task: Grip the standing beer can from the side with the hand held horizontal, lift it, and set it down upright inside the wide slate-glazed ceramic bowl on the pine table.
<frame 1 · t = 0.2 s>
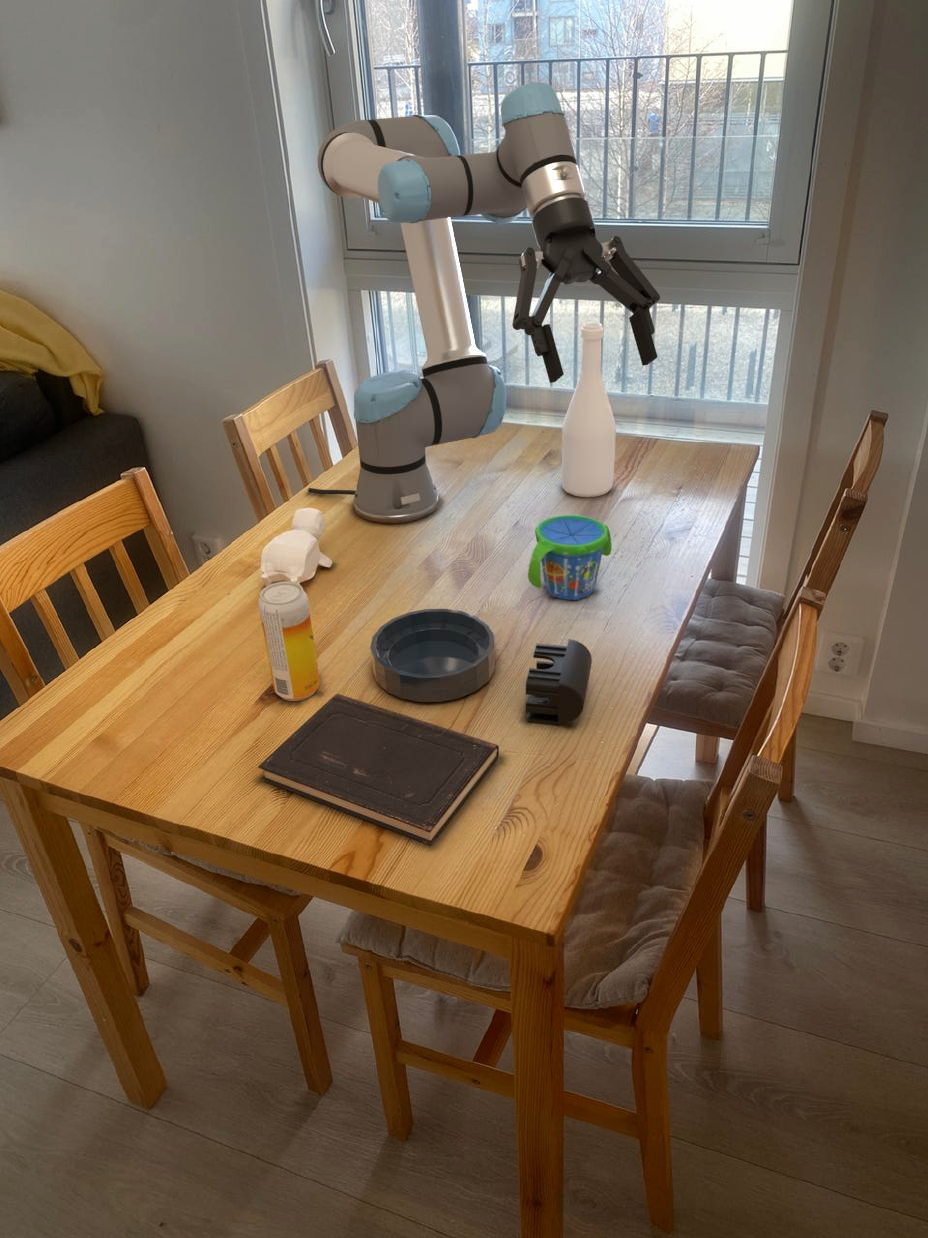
hand: (604, 370, 119), 36 cm above the table, tool tilted 35°, fingers open, 13 cm apart
bowl: (434, 668, 128), on the table
hardcover book: (381, 770, 111), on the table
beer can: (297, 690, 125), on the table
snack cup: (570, 590, 144), on the table
white animal figurine: (301, 572, 152), on the table
wine bottle: (587, 489, 175), on the table
end cap: (559, 704, 120), on the table
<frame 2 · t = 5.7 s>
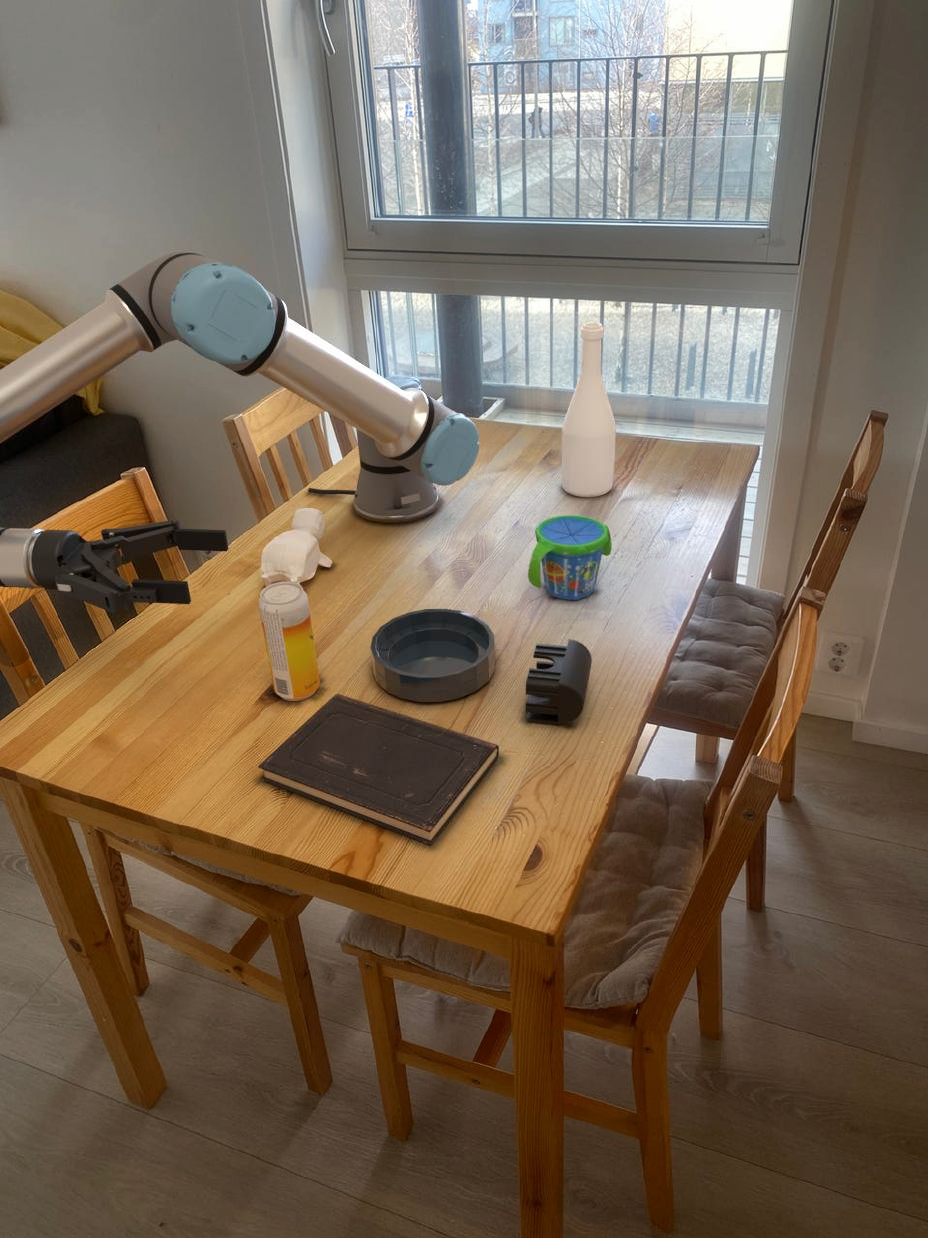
hand: (208, 565, 116), 18 cm above the table, tool horizontal, fingers open, 13 cm apart
nothing on the table moved.
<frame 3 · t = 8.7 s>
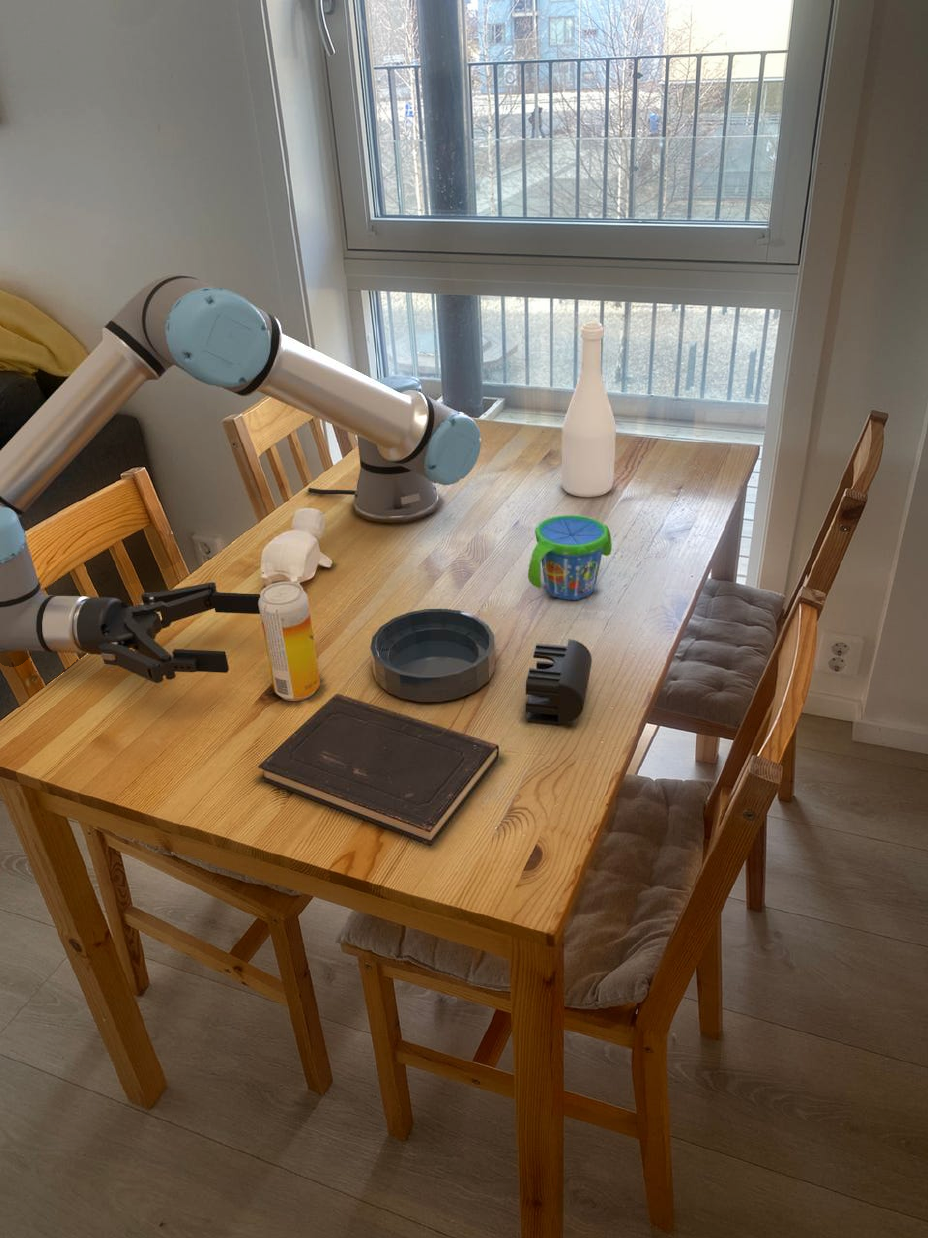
hand: (244, 631, 121), 9 cm above the table, tool horizontal, fingers open, 13 cm apart
nothing on the table moved.
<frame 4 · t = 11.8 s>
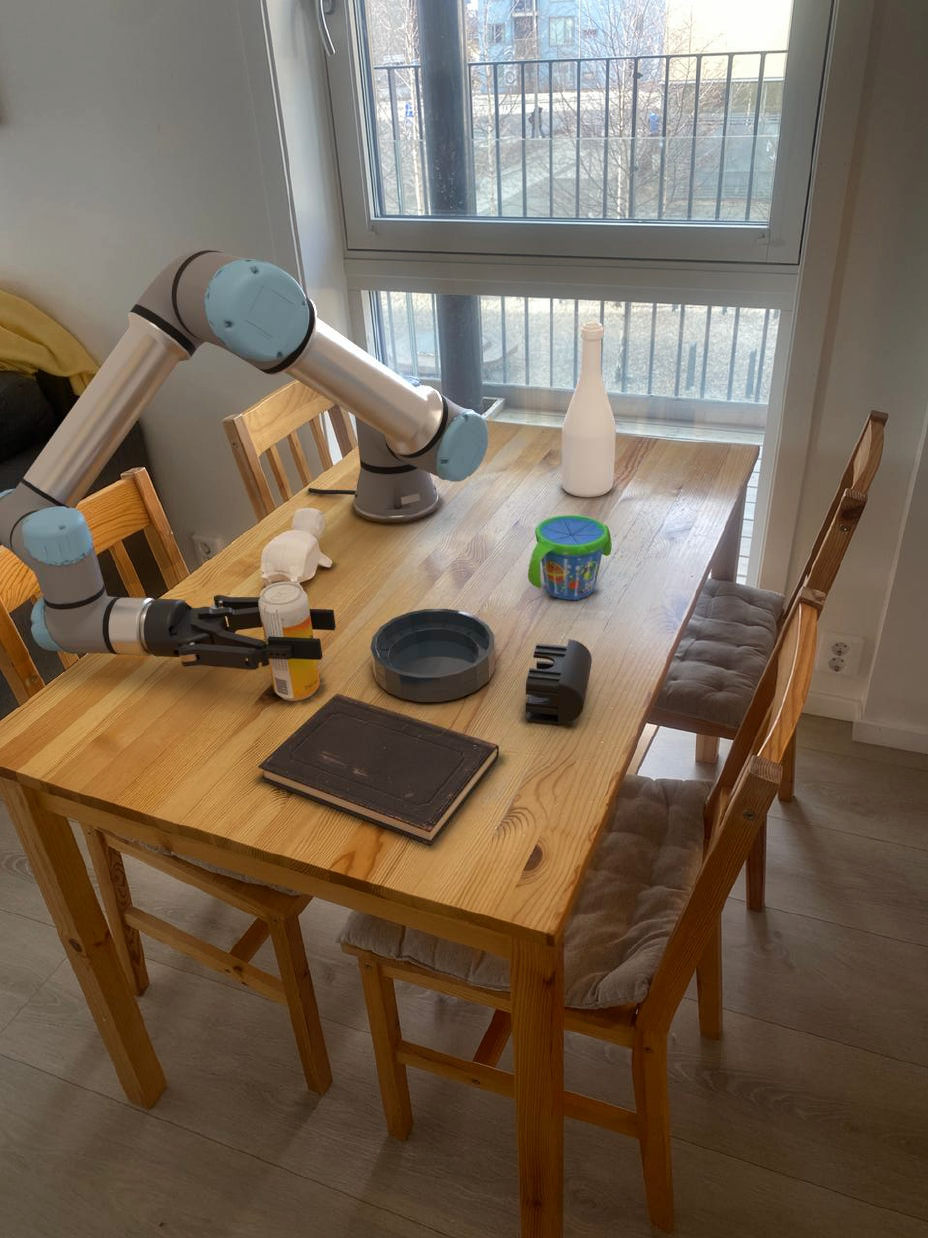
hand: (327, 634, 120), 9 cm above the table, tool horizontal, fingers closed on beer can, 6 cm apart
beer can: (297, 690, 125), on the table, touching gripper
everything else where it was.
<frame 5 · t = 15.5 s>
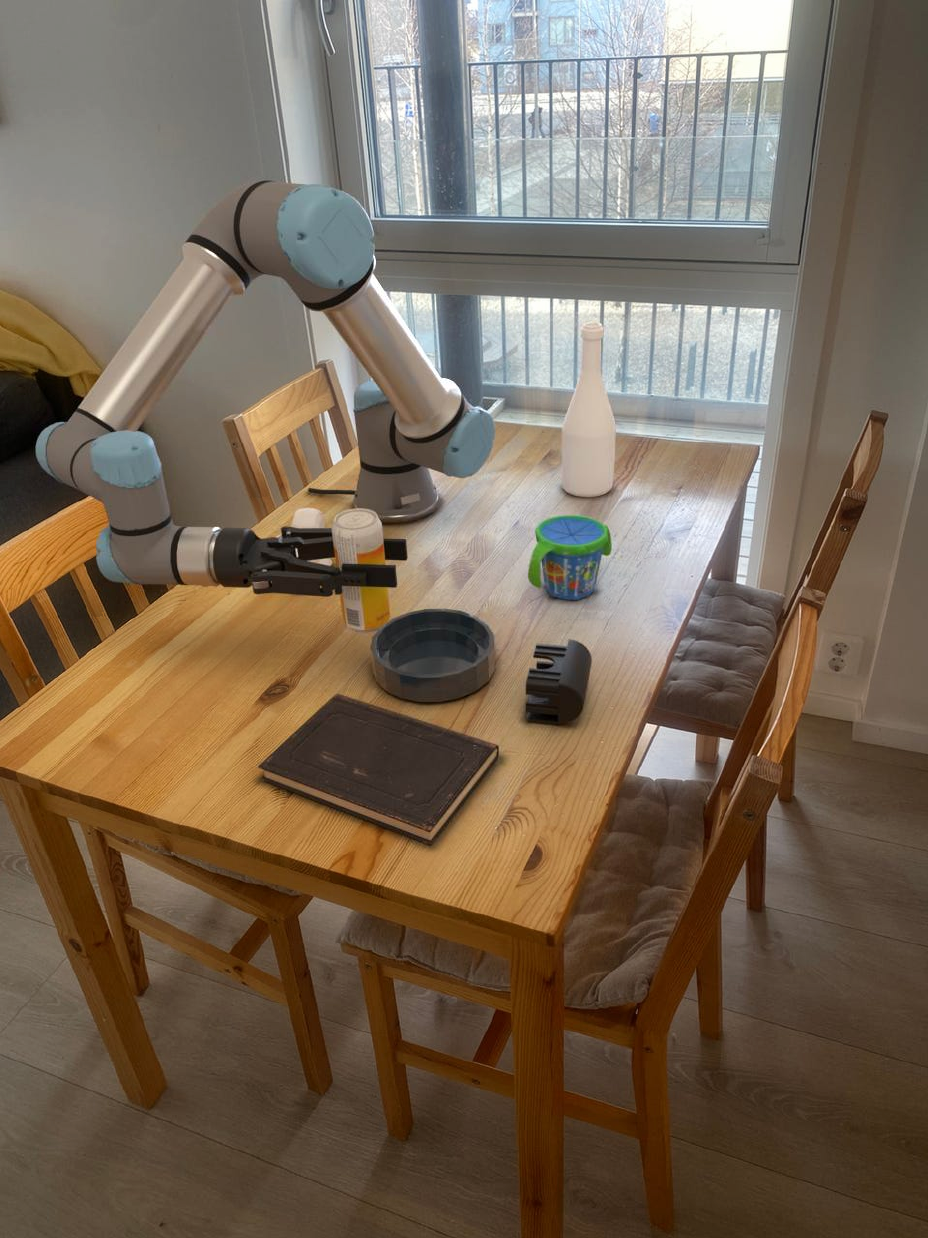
hand: (400, 562, 116), 18 cm above the table, tool horizontal, fingers closed on beer can, 6 cm apart
beer can: (367, 623, 122), point 9 cm above the table, touching gripper
everything else where it was.
when the fingers open (10 cm above the table, at t = 19.4 s): beer can stays where it is, resting on bowl.
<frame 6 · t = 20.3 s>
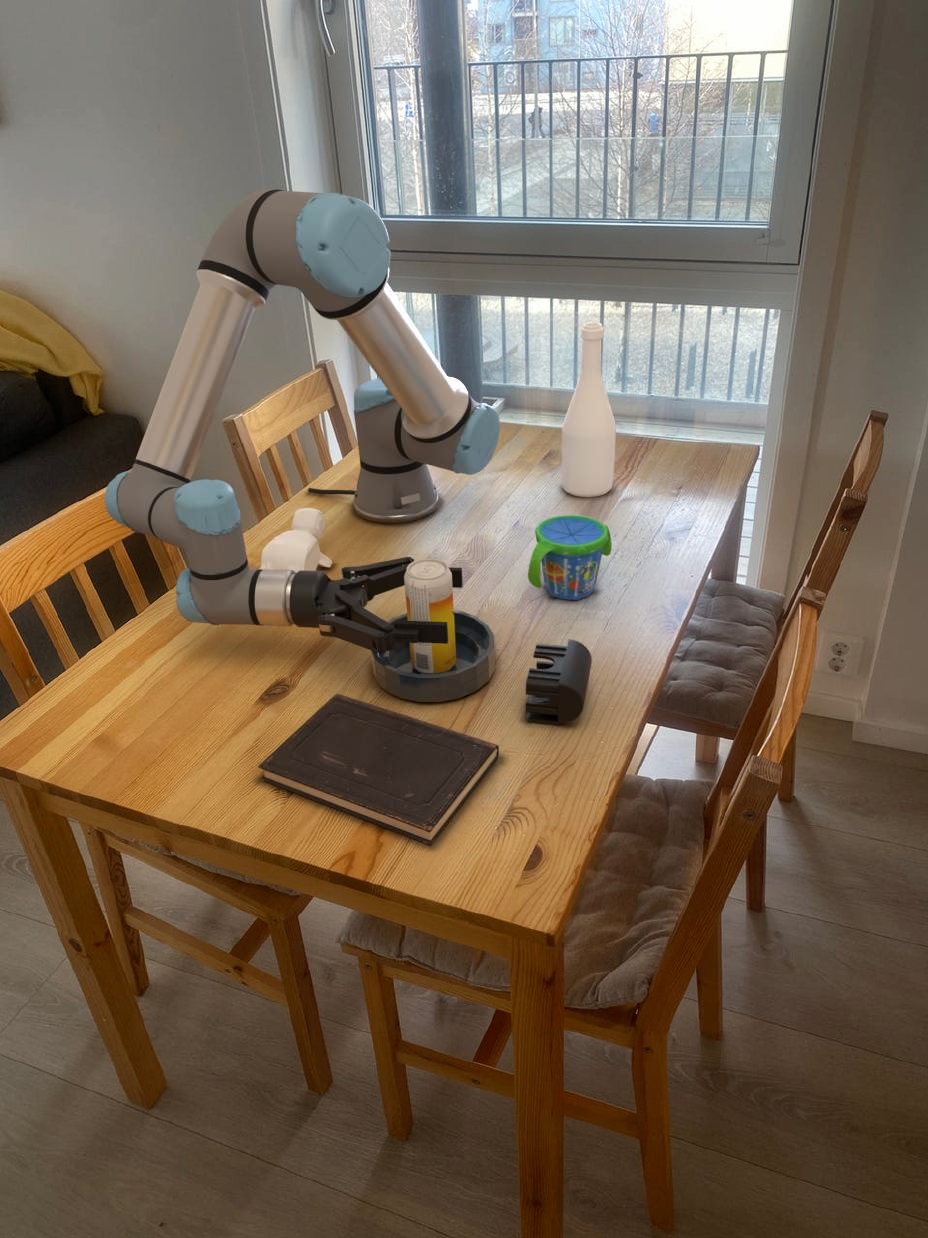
hand: (455, 604, 122), 10 cm above the table, tool horizontal, fingers open, 13 cm apart
beer can: (434, 666, 128), resting on bowl
everything else where it was.
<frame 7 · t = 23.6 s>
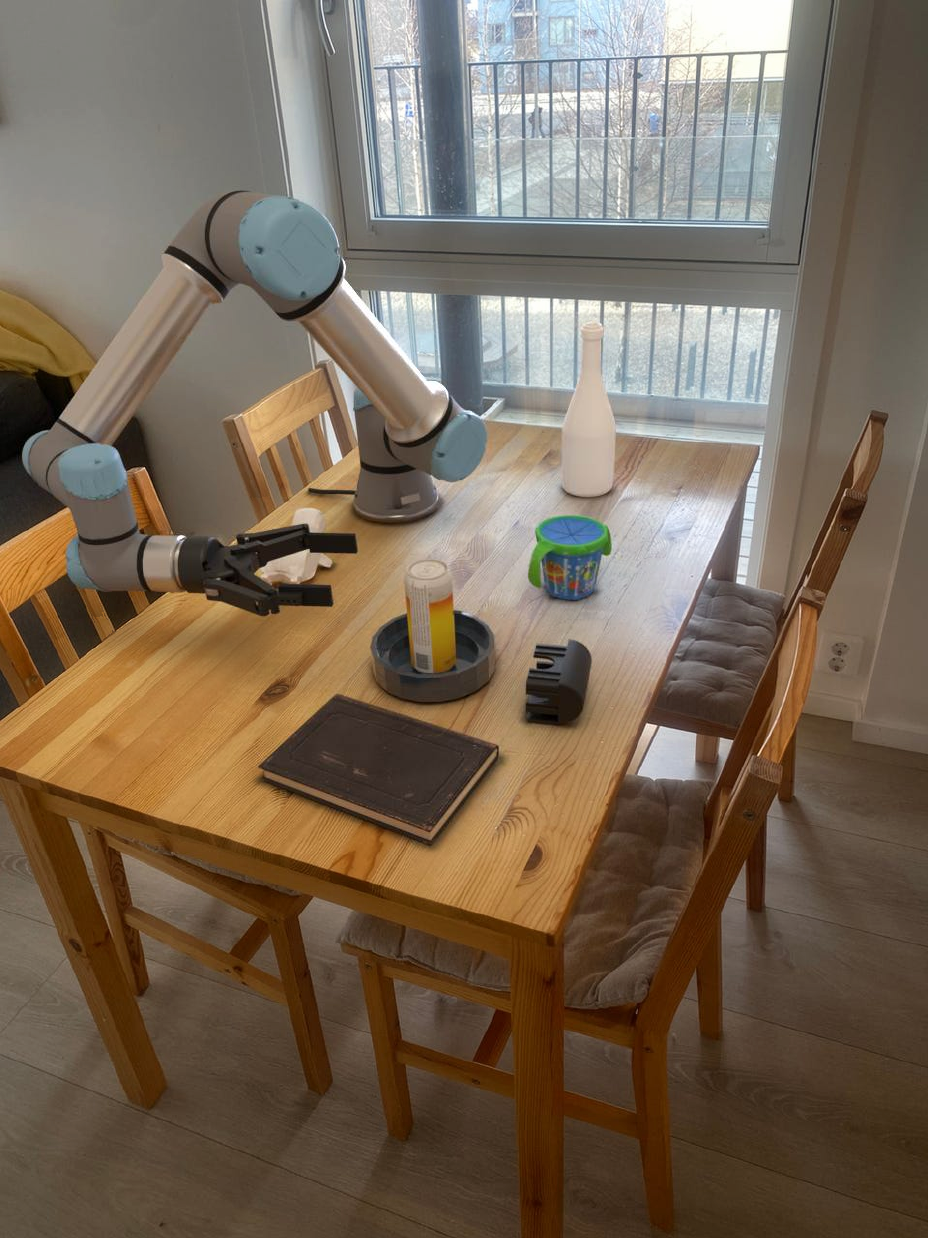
hand: (344, 568, 121), 15 cm above the table, tool horizontal, fingers open, 13 cm apart
nothing on the table moved.
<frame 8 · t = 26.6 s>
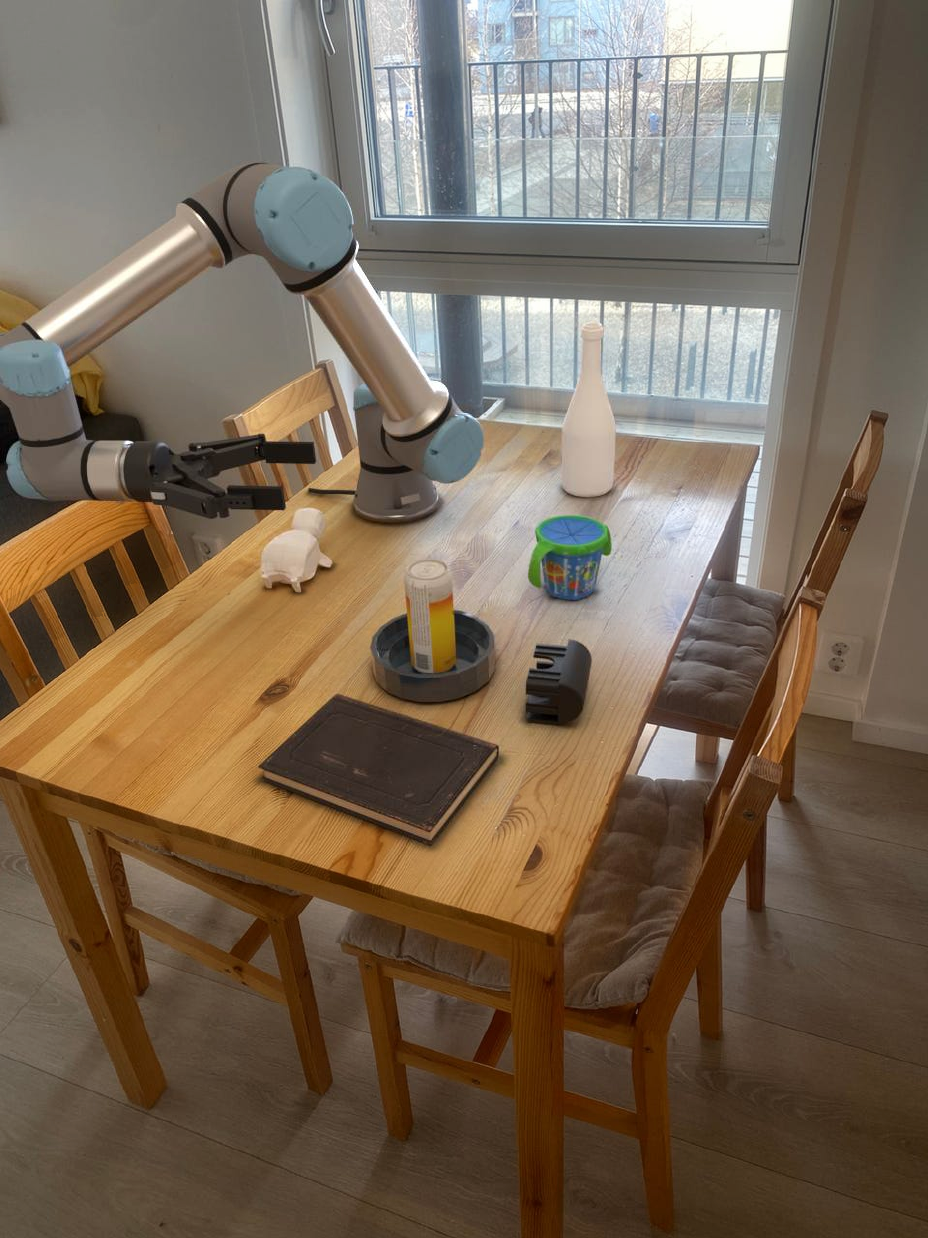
hand: (300, 474, 115), 28 cm above the table, tool horizontal, fingers open, 13 cm apart
nothing on the table moved.
at the end: beer can inside the target area in the bowl (0.1 cm from its centre), point 0.4 cm above the bowl's base; beer can tilted 0°; the gripper is holding nothing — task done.
